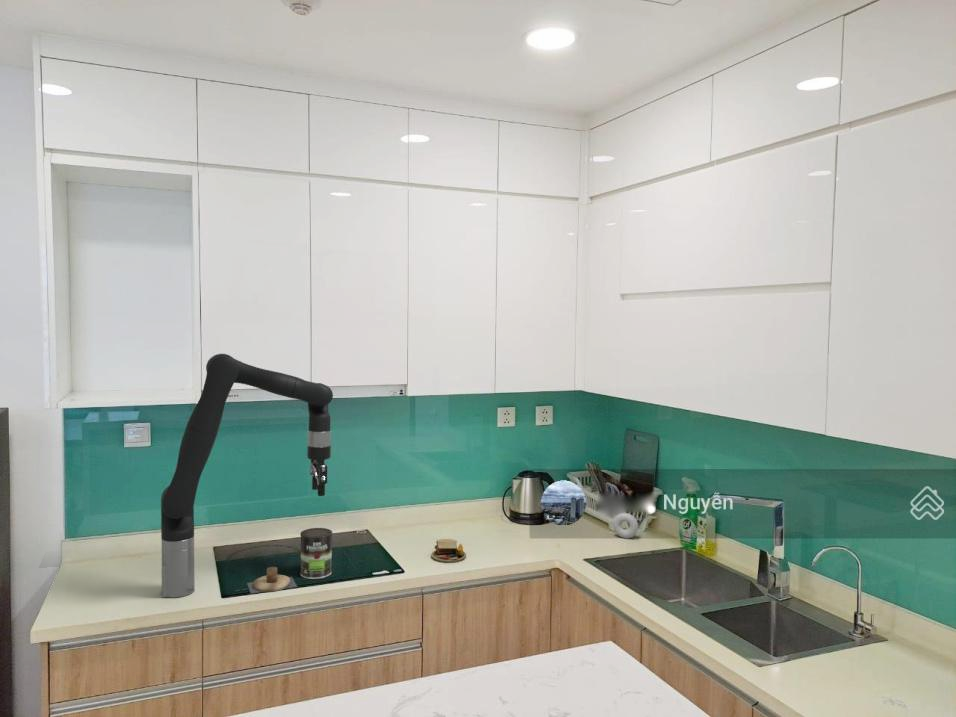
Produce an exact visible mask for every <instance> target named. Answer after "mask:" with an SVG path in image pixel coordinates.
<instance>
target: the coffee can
mask: <svg viewBox="0 0 956 717" xmlns="http://www.w3.org/2000/svg"><path fill="white" fill-rule="evenodd" d="M299 535H300V571H299V572H300V576H301V577H302V578H304V579H312V580H314V579H322V578H326V577H329V576H330V575H331V574H332V572H333V571H332V569H333V568H332V567H333V566H332V564H333V563H332V559H333V558H332V556H333V554H332V553H333V549H332V548H333V530H332V529H329V528H325V527H312V528H307V529H304V530H302V531H300V534H299Z"/></svg>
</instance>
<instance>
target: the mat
mask: <svg viewBox="0 0 956 717" xmlns="http://www.w3.org/2000/svg"><path fill="white" fill-rule="evenodd" d="M288 577H289V578H290V585H289V586H288V587H286V588H285V589H291V588H297V587H298V585H297V583H296V582H295V580H294V578H293V576H288ZM246 584H247V587H248V590H249V593H250V594H258V593H265V592H264V591H258V590H256V589H255V588H254V581H253V582H252V581H251V582H246Z"/></svg>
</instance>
